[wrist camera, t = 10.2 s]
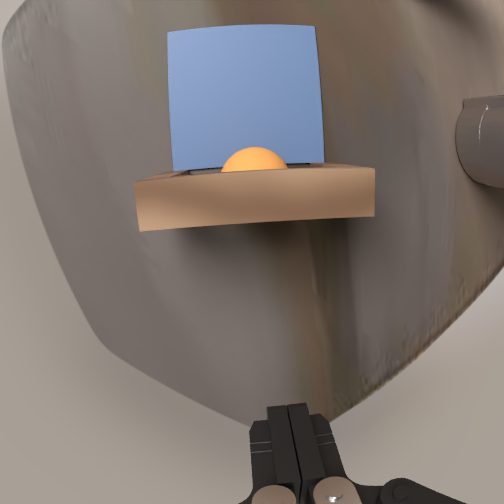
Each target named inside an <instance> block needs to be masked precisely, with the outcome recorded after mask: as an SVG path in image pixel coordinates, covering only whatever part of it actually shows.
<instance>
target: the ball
mask: <svg viewBox="0 0 504 504" xmlns="http://www.w3.org/2000/svg"><path fill="white" fill-rule="evenodd" d="M265 169H288V167H287V165H286V163H285V162H284V161H283V159H282V158H281V157H280V156H279V155H277V154H276V153H275V152H273V151H271V150H269V149H266V148H261V147H249V148H245V149H242V150H240V151H238V152H236V153H235V154H233V155H232V156H231V157H230V158H229V159H228V160H227V161H226V163H225V165H224V166H223V169H222V171H221V172H231V171H247V170H265Z"/></svg>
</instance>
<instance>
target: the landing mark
mask: <svg viewBox="0 0 504 504" xmlns="http://www.w3.org/2000/svg"><path fill="white" fill-rule="evenodd" d="M168 82H169V107H170V126H171V141H172V156H173V168H174V171H181V170H192V169H203V168H215V167H223V166H224V165H225V163H226V161H227V160H228V159H229V158H230V157H231V156H232V155H233V154H235V153H236V152H238V151H240V150H242V149H245V148H249V147H261V148H266V149H269V150H271V151H273V152H275V153H276V154H277V155H279V156H280V157H281V158H282V159H283V161H284V162H285V163H324V142H323V121H322V105H321V90H320V77H319V65H318V55H317V45H316V35H315V26H302V25H235V26H220V27H208V28H198V29H189V30H181V31H174V32H168Z"/></svg>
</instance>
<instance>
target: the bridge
mask: <svg viewBox="0 0 504 504" xmlns="http://www.w3.org/2000/svg"><path fill="white" fill-rule="evenodd" d="M134 190H135V199H136V207H137V215H138V223H139V230H140V231H150V230H161V229H173V228H186V227H199V226H212V225H226V224H240V223H255V222H271V221H288V220H306V219H325V218H347V217H370V216H374V207H375V169H373V168H367V167H360V166H354V165H347V164H340V163H332V162H324V163H310V168H288V169H265V170H247V171H231V172H217V173H205V174H194V175H189V172H188V170H181V171H171V172H164V173H161V174H158V175H155V176H152V177H148V178H145V179H142V180H139V181H136V182H134Z"/></svg>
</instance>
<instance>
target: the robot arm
mask: <svg viewBox="0 0 504 504" xmlns="http://www.w3.org/2000/svg"><path fill="white" fill-rule="evenodd" d="M463 103H464V109H463V111H462V113H461V115H460V117H459V120H458V123H457V128H456V146H457V152H458V156H459V159H460V162H461V164H462V166H463V168H464V170H465V171H466V173H467V174H468V175H469V176H470V177H471V178H472V179H473V180H475V181H476V182H478V183H482V184H486V185H489V186H492V187H498V188H502V189H504V95H499V96H489V97H479V98H471V99H464V100H463ZM249 435H250V449H251V464H252V478H253V489H252V492H251V494H250V496H249V497H248V498H247V499H246V500H244V501H243V502H241V503H239V504H466V503H463V502H461V501H458V500H456V499H453V498H451V497H448V496H446V495H443V494H441V493H438V492H436V491H434V490H432V489H429V488H427V487H425V486H422V485H420V484H418V483H416V482H414V481H411V480H409V479H406V478H396V479H393V480H390V481H389V482H387V483H386V484H385V485H384V486H364V485H359V484H357V483H354V482H353V481H351V480H350V479H349V478H348V477H347V476H346V474H345V471H344V468H343V465H342V462H341V459H340V455H339V452H338V449H337V446H336V443H335V440H334V437H333V435H332V431H331V428H330V424H329V422H328V421H327V420H326V419H325V418H324V417H323V416H322V415H321V414H314V415H309V411H308V408H307V405H306V403H299V404H290V405H287V406H286V405H282V406H272V407H267V420H261V421H254V423H253V425H252V427H251V429H250V431H249Z"/></svg>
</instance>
